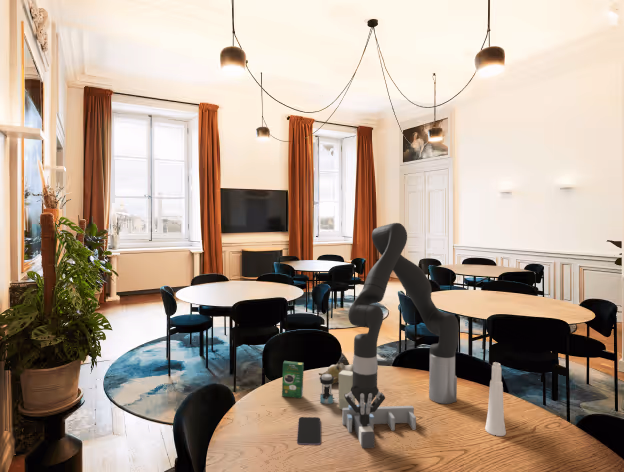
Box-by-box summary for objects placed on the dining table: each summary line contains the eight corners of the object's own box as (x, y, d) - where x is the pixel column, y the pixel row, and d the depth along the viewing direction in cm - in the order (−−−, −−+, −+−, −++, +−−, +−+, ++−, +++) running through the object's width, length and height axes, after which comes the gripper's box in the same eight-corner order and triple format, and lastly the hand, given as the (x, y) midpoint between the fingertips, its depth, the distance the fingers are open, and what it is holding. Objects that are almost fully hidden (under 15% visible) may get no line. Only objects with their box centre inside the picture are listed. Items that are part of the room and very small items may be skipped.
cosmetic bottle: (507, 438, 116) (508, 367, 116) (485, 434, 118) (487, 365, 118) (504, 428, 122) (505, 361, 122) (484, 425, 124) (485, 359, 124)
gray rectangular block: (353, 427, 122) (353, 414, 122) (364, 426, 122) (364, 414, 122) (362, 448, 110) (362, 434, 110) (374, 447, 110) (374, 433, 110)
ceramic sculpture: (357, 364, 155) (322, 368, 152) (358, 385, 155) (323, 389, 152) (350, 356, 165) (317, 359, 162) (351, 375, 165) (318, 379, 162)
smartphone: (296, 443, 111) (298, 416, 126) (296, 447, 111) (298, 420, 126) (321, 443, 111) (320, 417, 126) (321, 447, 111) (320, 420, 126)
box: (355, 407, 136) (356, 371, 135) (351, 412, 132) (352, 375, 131) (341, 404, 138) (342, 369, 138) (337, 409, 134) (338, 373, 134)
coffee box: (303, 395, 144) (304, 361, 144) (302, 398, 142) (302, 364, 141) (283, 393, 146) (284, 360, 146) (281, 396, 143) (282, 362, 143)
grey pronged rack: (411, 420, 127) (412, 403, 127) (418, 429, 121) (419, 411, 120) (342, 422, 124) (342, 405, 124) (345, 432, 118) (345, 414, 118)
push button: (337, 399, 142) (337, 373, 141) (337, 405, 136) (337, 378, 136) (319, 398, 142) (319, 372, 142) (319, 405, 137) (319, 378, 136)
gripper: (382, 364, 119) (381, 418, 119) (341, 365, 118) (340, 419, 118) (389, 373, 112) (388, 430, 112) (346, 374, 110) (345, 432, 110)
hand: (364, 424), depth 115 cm, fingers closed
